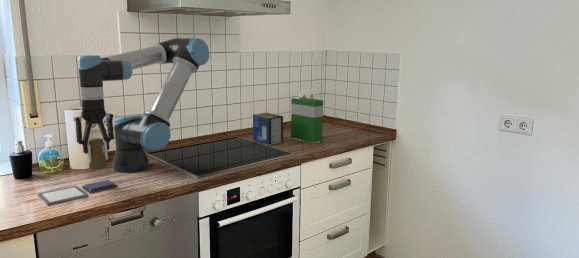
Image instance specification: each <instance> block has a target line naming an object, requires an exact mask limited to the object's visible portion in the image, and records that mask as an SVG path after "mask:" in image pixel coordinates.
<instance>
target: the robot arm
mask: <svg viewBox="0 0 579 258" xmlns="http://www.w3.org/2000/svg"><path fill="white" fill-rule="evenodd" d="M209 58H210V50H209V46H208V44H207V43H206V41H205V40H204V39H202V38H198V37H197V38H196V37H192V38H191V37H190V38H187V37H186V38H185V37H183V38H181V37H176V38H171V39H167V40H164V41H161V42H158V43H157V42H156V43H154V44H153V45H152V46H149V47H146V48H141V49H135V50H131V51H127V52H123V53H118V54H113V55H110V56H104V57H101V56H100V55H89V54H88V55H87V54H86V55H80V56H78V59H77V61H78V62H77V63H78V64H77V70H78V77H79V78H78V79H79V86H80V98H82V99H81V100H80V104H81V114H80V115H78V116H74V117H73V121H74V122H75V135H76V136H75V138H76V143H77V144H79V145H82V150H83V151H82V152H83V153H84V154H85V155H86V162H88V163H89V162H91V149H90V145H89V144H88V142H89V140H90V134H91V129H92V127H93V125H95V124H97V126H98V129H99V131H100V134H101V136H102V140H103V142H104V145H103V147H102V148H103V152H104V157H105V161H107V160H109V157H108V151H109V150H110V142H111V141H113V140H114V141H115V154H114V158H113V162H112V170H113V171H116V172H120V173H132V172H133V173H135V172H139V171H143V170H147V169H148V168H149V167H150V160H149V158H148V155H147V152H146V151H145V150H148V151H149V150H150V151H158V150H161V149H163V148H165V147H166V146H167V145H168V143H169V142H170V139H171V137H172V136H171V128H170V126H171V123H170V118H171V116H172V115H173V112H174V111H175V108H176V106H177V105H178V102H179V100H180V98H181V96H182V94H183V92H184V90H185V88H186V86H187V84H188V82H189V80H190V78H191V76H192V74H194V73H197V72H198V69H199V67H200V66H203V65H206V64H207V62H208V61H209ZM155 64H158V65H166V64H173V65H172V66H171V69H170V71H169V73H168V75H167V77H166V78H165V80H164V83H163V84H162V87H161V89H160V91H159V93H158V94H157V96H156V98H155V100H154V102H153V104H152V106H151V107H150V109H149V111H145V112H144V114H143V115H142V114H134V115H132V114H131V115H126V116H125V115H124V116H123V115H122V116H119V117H116V118H114V114H113V113H110V112H109V113H108V112H107V111H106V110H105V99H104V96H105V95H104V82H112V81H115V82H116V81H121V82H122V81H127V80H129V79H130V78H131V77H132V76H133V70H137V69H140V68H144V67H147V66H148V67H149V66H153V65H155ZM104 118H106V127H107V130H106V127H105V124H104V123H105V122H104ZM83 120H84V121H85V124H84V126H85V127H84V132H83V130H82V129H83V128H82V127H83V126H82V121H83Z"/></svg>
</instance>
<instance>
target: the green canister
mask: <svg viewBox="0 0 579 258" xmlns="http://www.w3.org/2000/svg"><path fill="white" fill-rule="evenodd" d="M290 101H291V102H290V103H291V110H290V111H291V113H290V116H291V118H290V121H291V122H290V130H291V131H290V138H291V137H292V138H297V139H301V140H305V141H310V142H317V141H321V140H322V141H323V127H324V125H323V124H324V122H323V121H324V100H323V99H316V98H309V97H308V98H307V97H302V96H299V98H294V97H293V98H292V97H291V100H290Z"/></svg>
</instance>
